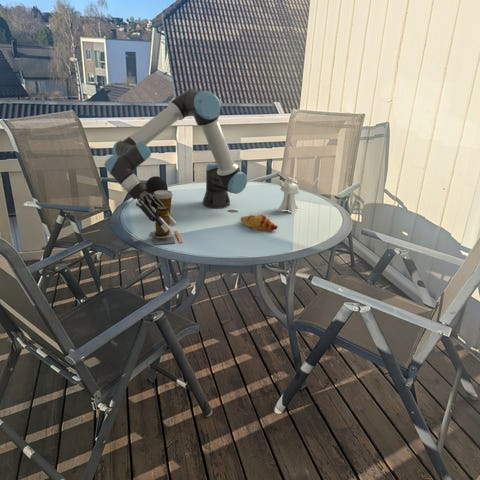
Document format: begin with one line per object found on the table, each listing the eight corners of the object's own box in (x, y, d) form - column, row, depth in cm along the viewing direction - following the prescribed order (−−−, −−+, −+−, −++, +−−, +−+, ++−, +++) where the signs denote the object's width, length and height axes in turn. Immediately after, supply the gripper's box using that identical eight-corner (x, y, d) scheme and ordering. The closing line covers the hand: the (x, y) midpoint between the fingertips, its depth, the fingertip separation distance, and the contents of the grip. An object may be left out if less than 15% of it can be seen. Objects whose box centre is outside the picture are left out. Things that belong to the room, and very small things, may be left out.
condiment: (168, 229, 185) (167, 204, 180) (173, 236, 178) (173, 210, 173) (152, 231, 182) (151, 205, 178) (157, 238, 175) (156, 211, 170)
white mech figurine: (285, 215, 217) (287, 182, 210) (273, 208, 228) (275, 176, 221) (304, 213, 222) (307, 180, 215) (291, 206, 233) (294, 174, 226)
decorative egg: (172, 203, 228) (172, 177, 223) (153, 207, 220) (152, 180, 214) (159, 198, 236) (158, 172, 231) (141, 202, 228) (139, 175, 222)
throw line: (177, 231, 190) (177, 230, 190) (182, 242, 177) (182, 242, 177) (174, 231, 189) (174, 230, 189) (179, 243, 177) (179, 242, 177)
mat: (170, 231, 189) (170, 230, 189) (175, 243, 177) (175, 242, 176) (150, 233, 186) (150, 232, 186) (154, 245, 174) (154, 243, 174)
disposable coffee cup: (169, 219, 205) (168, 195, 200) (151, 217, 206) (150, 193, 202) (175, 213, 213) (175, 190, 209) (158, 211, 215) (157, 189, 211)
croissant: (237, 230, 204) (232, 218, 199) (247, 216, 209) (243, 205, 204) (273, 239, 193) (270, 227, 188) (283, 225, 198) (280, 213, 193)
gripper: (139, 187, 186) (174, 225, 189) (118, 198, 169) (156, 240, 172) (149, 176, 183) (184, 215, 186) (129, 187, 166) (168, 229, 169)
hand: (171, 227), depth 179 cm, fingers closed on condiment, 6 cm apart
